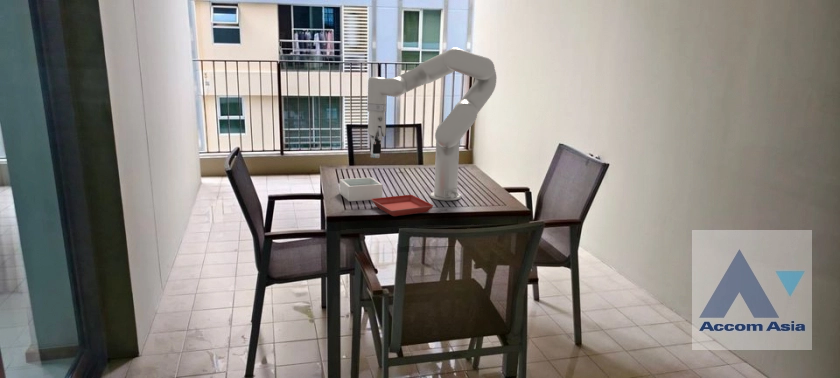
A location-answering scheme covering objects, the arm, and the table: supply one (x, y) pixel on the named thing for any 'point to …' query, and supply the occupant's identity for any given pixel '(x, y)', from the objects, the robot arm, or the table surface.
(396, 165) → the table surface
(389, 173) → the table surface
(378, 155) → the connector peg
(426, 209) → the plant saucer
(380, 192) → the walled box
